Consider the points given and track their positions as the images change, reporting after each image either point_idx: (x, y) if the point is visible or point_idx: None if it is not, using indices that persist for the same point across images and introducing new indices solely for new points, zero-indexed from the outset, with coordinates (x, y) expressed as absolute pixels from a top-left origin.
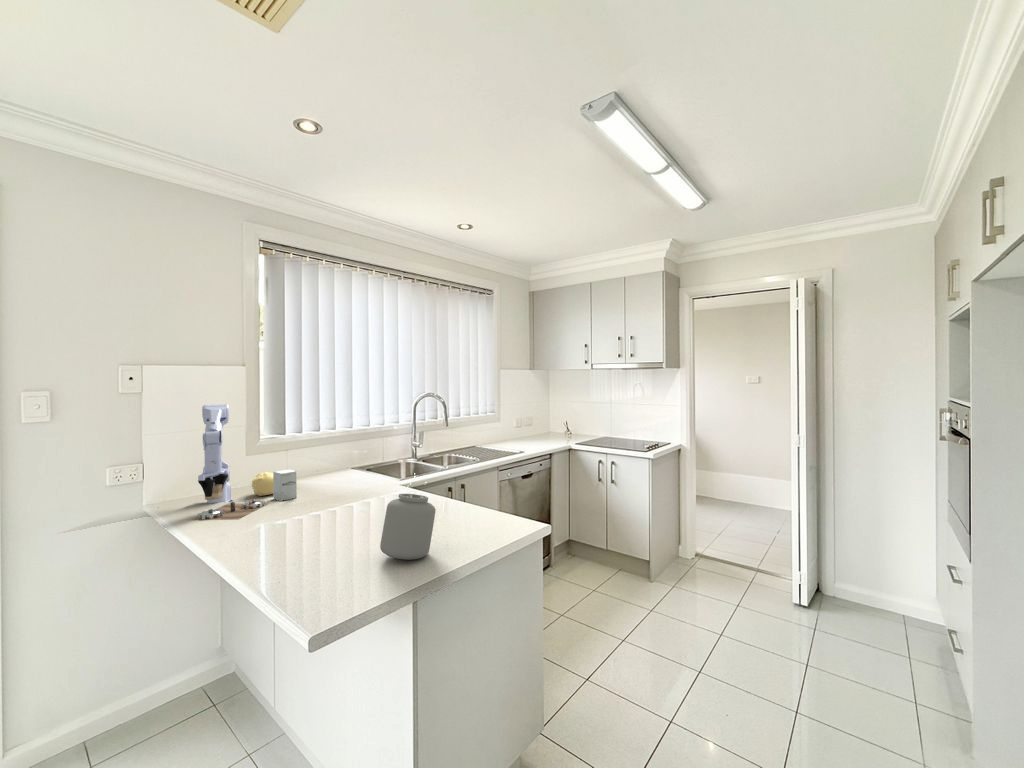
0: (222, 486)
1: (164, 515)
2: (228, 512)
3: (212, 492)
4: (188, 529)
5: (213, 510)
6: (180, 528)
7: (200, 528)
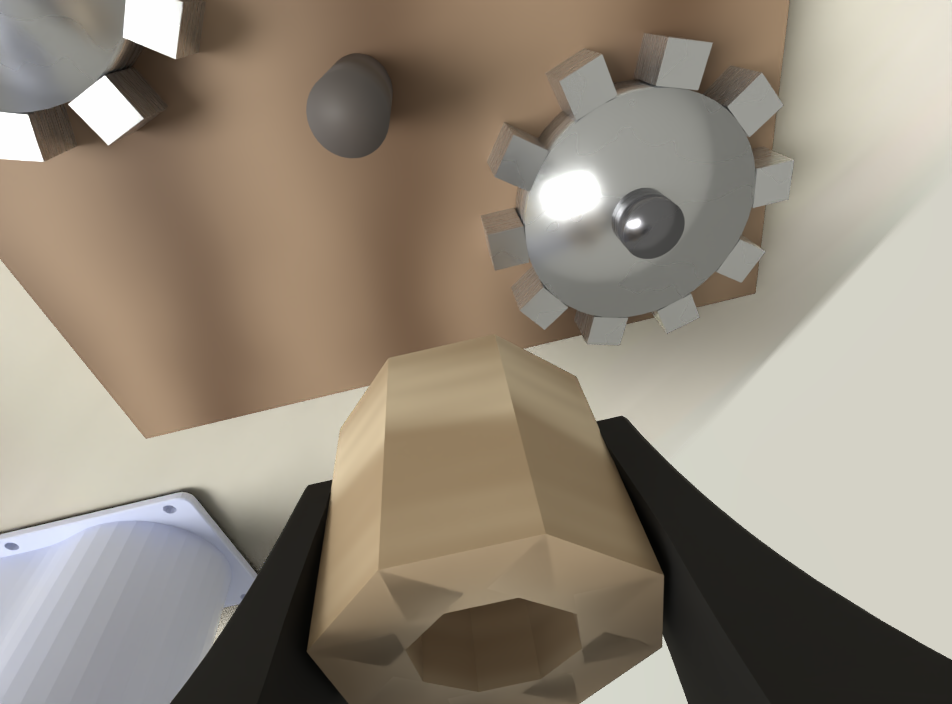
0: (289, 577)
1: None
2: (437, 98)
3: (606, 467)
4: (925, 135)
5: (553, 259)
6: (863, 250)
7: (930, 10)
